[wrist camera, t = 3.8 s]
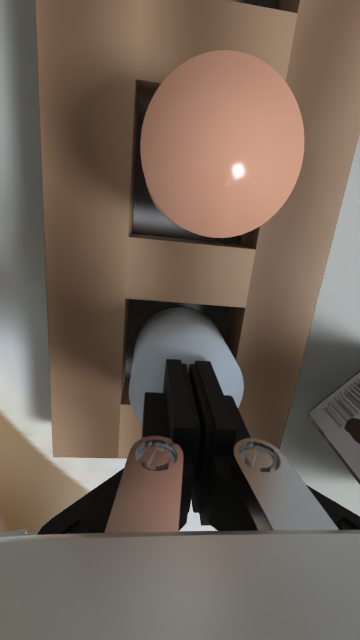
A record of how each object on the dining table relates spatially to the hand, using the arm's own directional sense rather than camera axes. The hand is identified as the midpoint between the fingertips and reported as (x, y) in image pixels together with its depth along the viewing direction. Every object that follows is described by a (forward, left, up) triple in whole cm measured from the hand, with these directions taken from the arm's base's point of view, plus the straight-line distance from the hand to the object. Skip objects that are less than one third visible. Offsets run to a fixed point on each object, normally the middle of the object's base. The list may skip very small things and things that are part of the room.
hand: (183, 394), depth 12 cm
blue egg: (0, 0, -4) cm, 4 cm away
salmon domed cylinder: (0, -8, -3) cm, 9 cm away
